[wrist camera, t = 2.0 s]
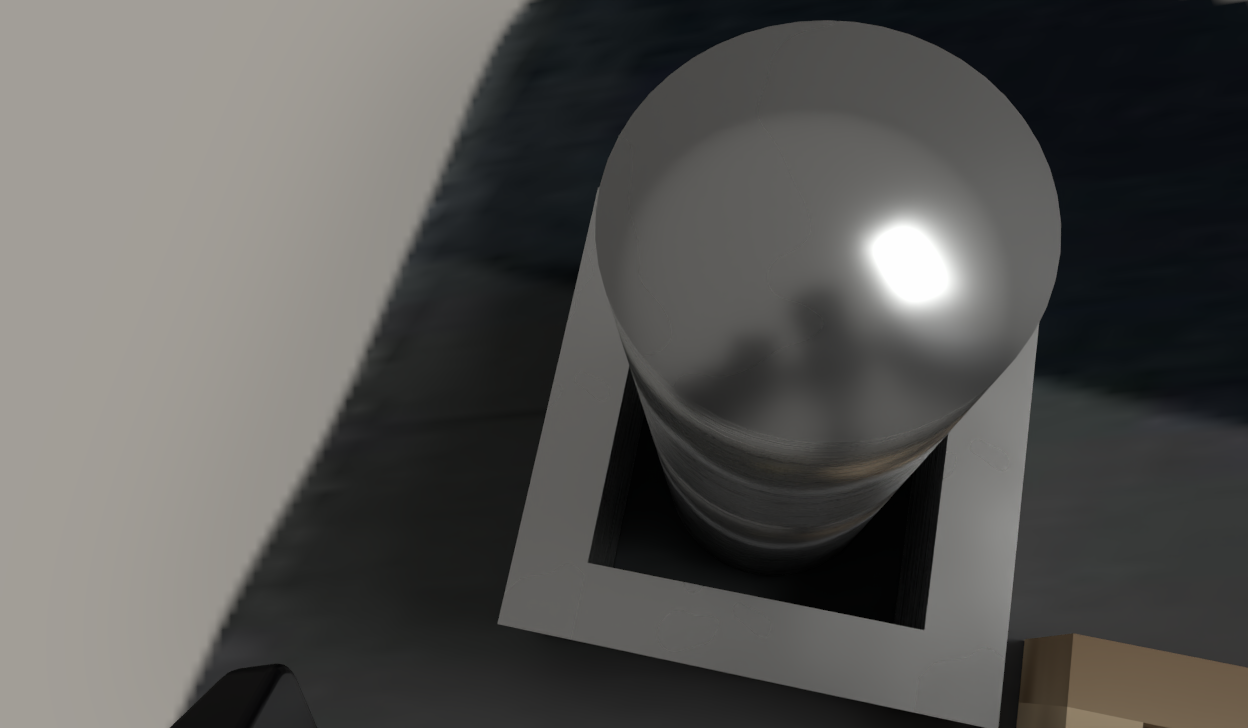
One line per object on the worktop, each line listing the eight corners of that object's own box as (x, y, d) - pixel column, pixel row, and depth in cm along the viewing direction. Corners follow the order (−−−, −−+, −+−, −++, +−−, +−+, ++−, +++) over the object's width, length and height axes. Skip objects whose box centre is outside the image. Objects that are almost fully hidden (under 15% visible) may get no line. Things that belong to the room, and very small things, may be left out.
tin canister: (860, 594, 17) (1038, 481, 7) (651, 553, 18) (550, 396, 8) (888, 392, 18) (1080, 47, 8) (689, 358, 19) (643, -2, 9)
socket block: (951, 721, 17) (997, 730, 14) (535, 632, 18) (497, 623, 15) (997, 317, 18) (1045, 252, 16) (617, 259, 20) (598, 187, 17)
